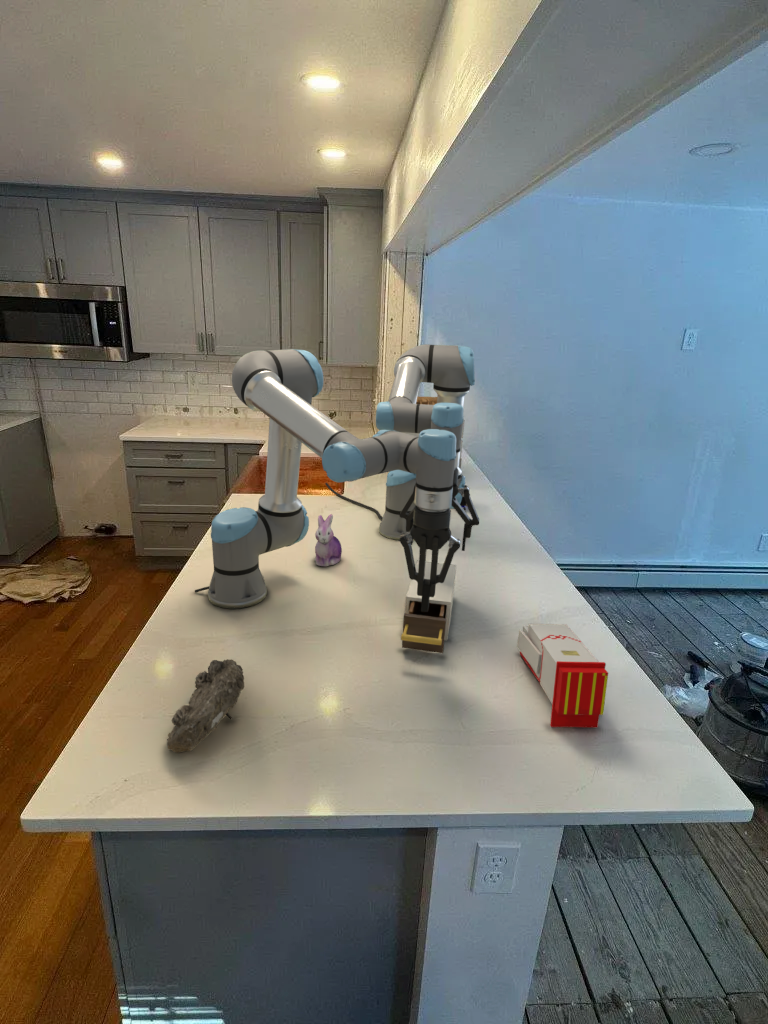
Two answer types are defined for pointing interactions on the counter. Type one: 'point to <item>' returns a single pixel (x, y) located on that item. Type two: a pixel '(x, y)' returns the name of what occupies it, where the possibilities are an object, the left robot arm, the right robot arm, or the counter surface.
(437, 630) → the drawer
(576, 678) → the toy
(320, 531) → the figurine
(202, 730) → the fossil
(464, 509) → the figurine character
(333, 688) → the counter surface
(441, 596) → the cabinet
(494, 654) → the counter surface
